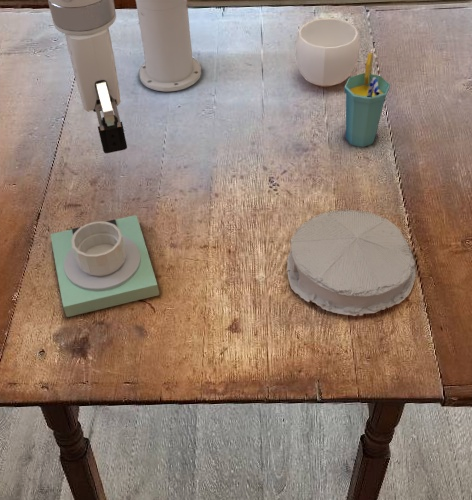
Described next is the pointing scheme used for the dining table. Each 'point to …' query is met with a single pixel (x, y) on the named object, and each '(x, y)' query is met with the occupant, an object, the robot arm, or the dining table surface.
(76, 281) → the scale
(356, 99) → the cup
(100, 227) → the bowl
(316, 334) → the dining table surface
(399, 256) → the grey round cake
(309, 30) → the cup
